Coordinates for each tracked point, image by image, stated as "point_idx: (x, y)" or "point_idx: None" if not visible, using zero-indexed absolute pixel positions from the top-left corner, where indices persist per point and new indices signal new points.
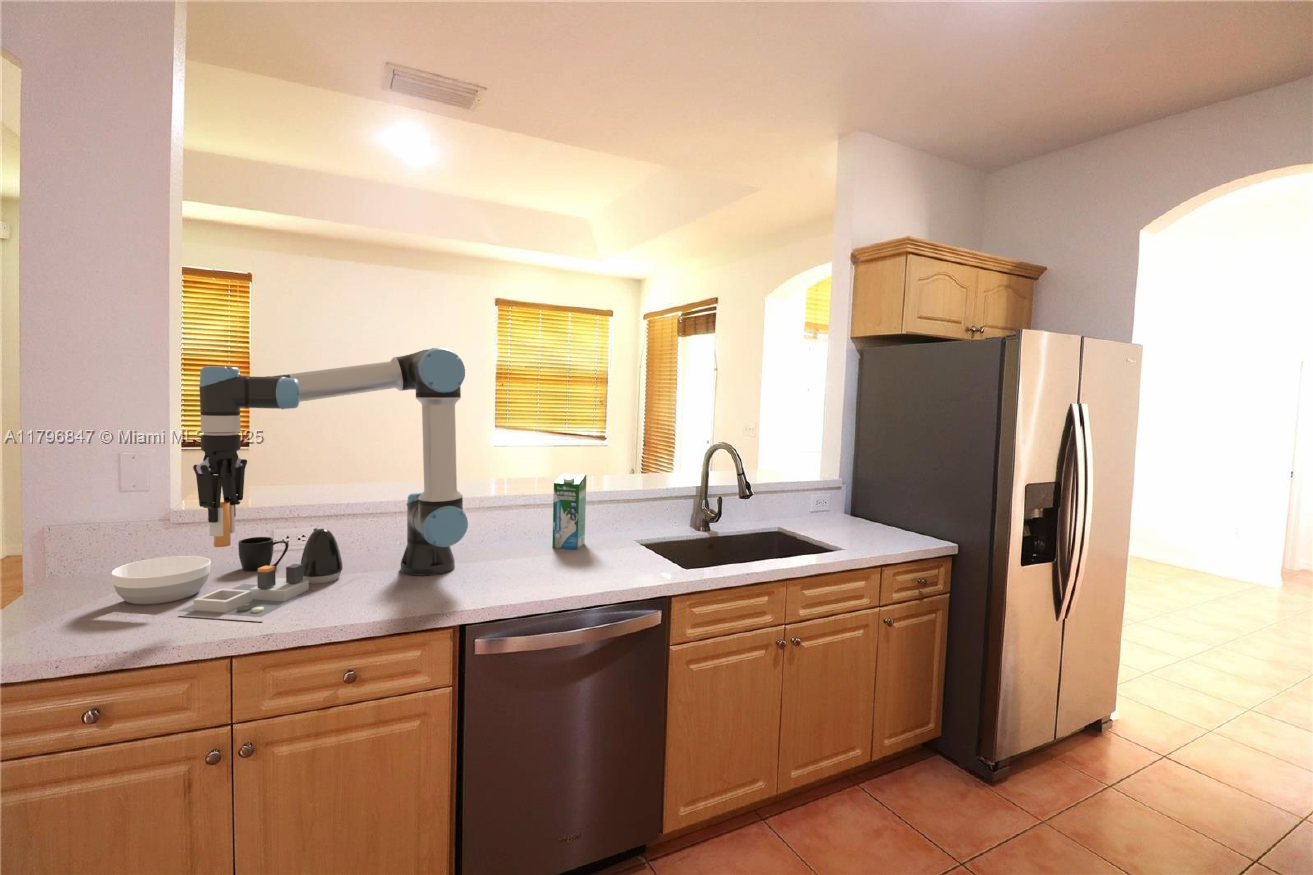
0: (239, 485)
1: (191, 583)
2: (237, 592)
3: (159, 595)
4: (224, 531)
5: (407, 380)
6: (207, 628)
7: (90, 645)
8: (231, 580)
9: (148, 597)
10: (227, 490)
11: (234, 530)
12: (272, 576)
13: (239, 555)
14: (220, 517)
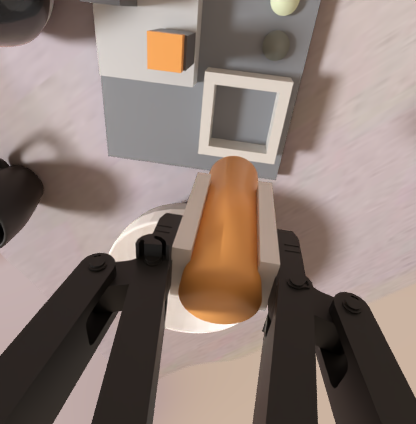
0: (59, 347)
1: None
2: (212, 105)
3: None
4: (250, 189)
5: None
6: (345, 80)
7: (397, 222)
8: (74, 201)
9: None
10: (159, 354)
11: (197, 176)
12: (165, 31)
13: (24, 225)
14: (275, 231)
